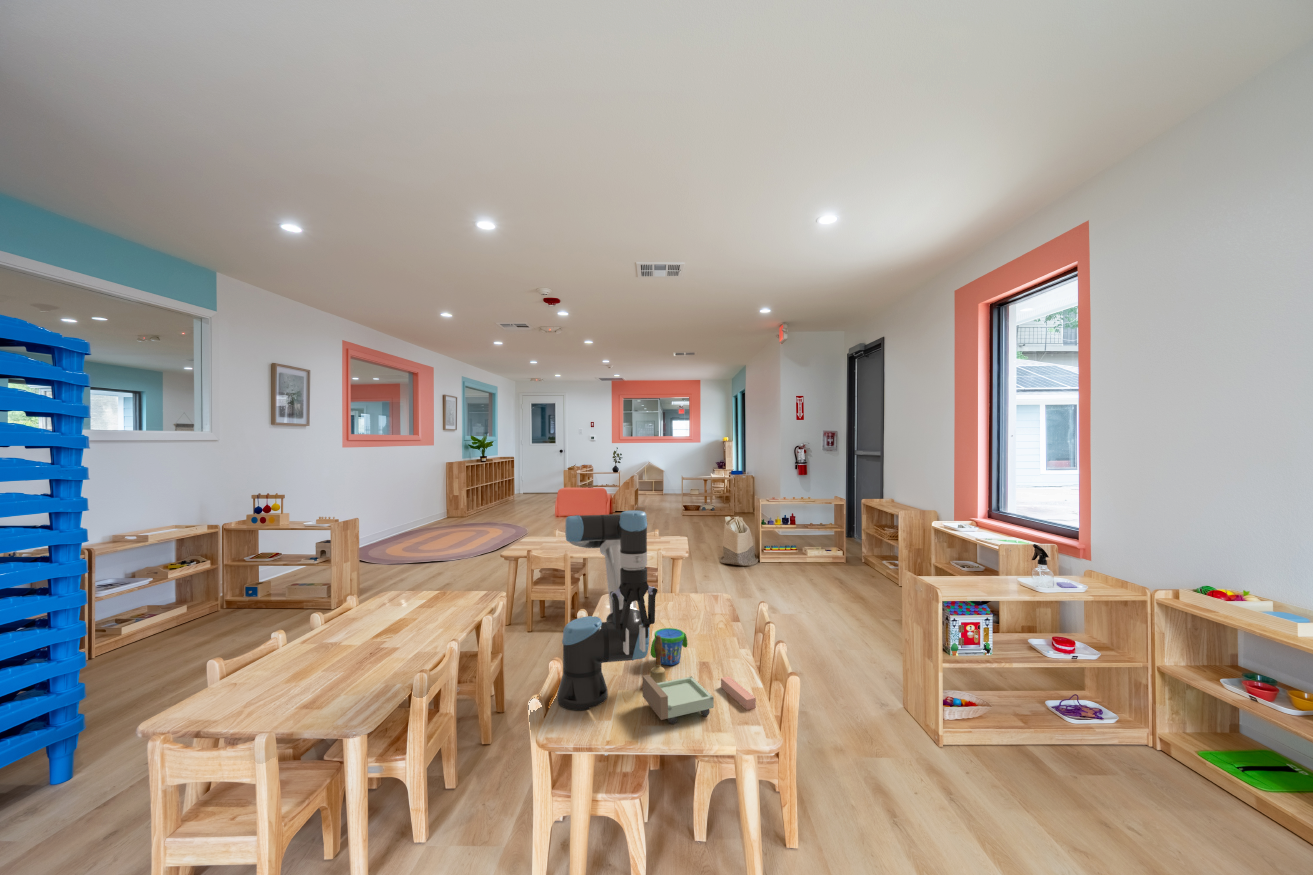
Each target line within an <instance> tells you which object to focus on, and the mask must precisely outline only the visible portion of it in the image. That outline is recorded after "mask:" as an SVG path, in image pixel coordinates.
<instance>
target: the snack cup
mask: <svg viewBox="0 0 1313 875" xmlns="http://www.w3.org/2000/svg"><path fill="white" fill-rule="evenodd" d="M657 635H659V636H660V637H661V641H662V652H661V664H660V665H664V666H674V665H677V664H678V663H680V661H681V658H682V656H681V655H682V652H683V651H682V648H687V647H688V638H687V635H686V633H685V632H684V631H683V630H682V629H678V628H673V627H672V628H671V627H665V628H660V629H657V630H656V631H654V638H653V640H652V641H651V646H650V656H651V657H652V658H654V659H656V654H655V650H654V643H655V640H656V636H657Z"/></svg>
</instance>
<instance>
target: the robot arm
mask: <svg viewBox="0 0 1313 875" xmlns="http://www.w3.org/2000/svg"><path fill="white" fill-rule="evenodd" d="M647 519H648V518H647V513H646V512H645V511H643V510H637V509H636V510H633V509H632V510H623V511H622V512H621V513H617V514H615V513H614V514H613V513H612V514H593V515H591V514H588V515H587V514H585V515H579V514H576V515H570V516H566V518H565V531H564V533H565V540H566V541H567V543H570V544H571V545H573V546H575V547H579V548H583V549H584V548H585V549H599V553H600V554H602V556H604V560H605V562H604V563H605V569H606V570H605V572H606V581H607V582H606V584H607V592H608V602H609V603H608V604H609V611H610V613H609V614H607V616H606V621H602V619H601V618H600V617H598V616H592V615H589V616H588V615H587V616H582V617H579V618H576V619H573V620H570V622H568V623H567V624H566V625H564V628H563V631H562V632H563V633H562V641H561V642H562V675H561V680H560V682H559V686H558V689H557V693H556V695H557V697H556V698H557V699H556V700H557V703H558V705H559V706H560V707H562V708H564V709H567V710H570V711H571V710H572V711H587V710H590V709H591V708H594V707H596V706H599V705H601V704H603V703H604V702H605V701H606V700H607V698H608V686H607V684H606V680H605V677H604V674H603V671H602V667H603V666H602V664H603V663H604V664H605V663H615V662H626V661H636V660H641V659H645V657H647V655H648V654H649V653H648V652H649V648H650V627H651V625H653V624H655V623H656V597H657V593H658V589H657V588H656V587H655V586H650V585H649V583H648V568H647V565H648V520H647ZM646 593H647V596H648V597H647V608H646V604H645V603H646V601H645V595H646ZM636 602H637V603H636ZM637 606H638V608H637Z"/></svg>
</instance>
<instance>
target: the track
mask: <svg viewBox="0 0 1313 875" xmlns="http://www.w3.org/2000/svg"><path fill="white" fill-rule="evenodd" d="M720 687H721V689H723V690H724V692H726V693H727V694H728V695H729V696H730V697H732V698H733V699H734V700H735V701H736V702H737V703H738V704H739V705H741V706H742V707H743V708H744V709H745V710H747V711H749V710H752V709H755V708H756V706H757V702H756V700H757V699H756V697H755V696H754V695H753V694H751V693H750V692H749V691H748V690H747V689H746V688H744V687H743V686H742V685H740V684H739V683H738V682H737V681H735V679H733V678H732V677H731V676H730V675H729V676H723V677H721V678H720Z"/></svg>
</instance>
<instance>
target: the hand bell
mask: <svg viewBox="0 0 1313 875" xmlns="http://www.w3.org/2000/svg"><path fill="white" fill-rule="evenodd" d="M654 650H655V654H656V658H655V662H654V663H655V664H654V667H652V668H651V670H650V674H649V675H650V677H651V678H652V679H653V680H654V681H655V682H656V683H661V682H666V681H669V680H668V679H667V676H666V669H665V668H664V667H662V664H661V652H662V641H661V637H660V636H659V635H657V636H656V640H655V643H654Z"/></svg>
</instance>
